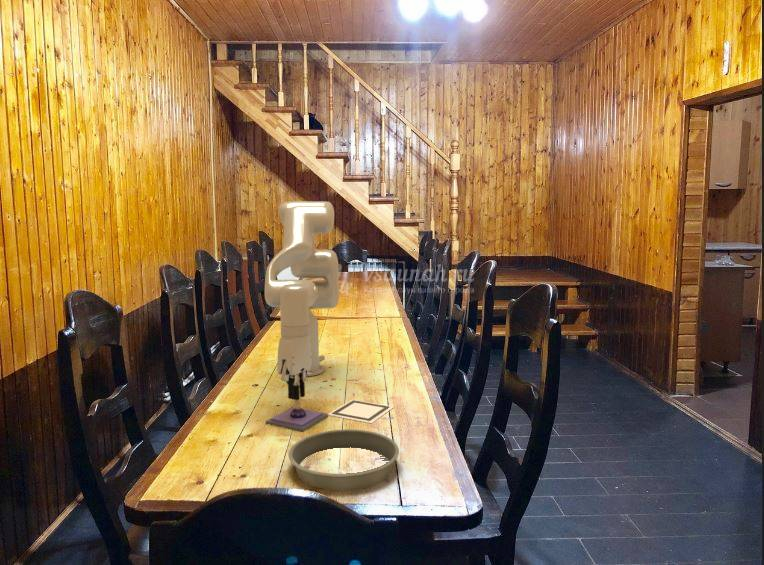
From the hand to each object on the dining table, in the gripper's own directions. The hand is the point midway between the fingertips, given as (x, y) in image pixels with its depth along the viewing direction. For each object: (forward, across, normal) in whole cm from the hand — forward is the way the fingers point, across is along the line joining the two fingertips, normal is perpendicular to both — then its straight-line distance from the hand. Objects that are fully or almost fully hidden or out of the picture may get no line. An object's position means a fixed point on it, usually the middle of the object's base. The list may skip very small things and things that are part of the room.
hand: (296, 397), depth 164 cm
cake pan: (+7, +19, +26) cm, 33 cm away
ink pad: (+7, 0, 0) cm, 7 cm away
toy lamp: (+5, 0, 0) cm, 5 cm away
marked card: (+7, -14, +12) cm, 20 cm away
